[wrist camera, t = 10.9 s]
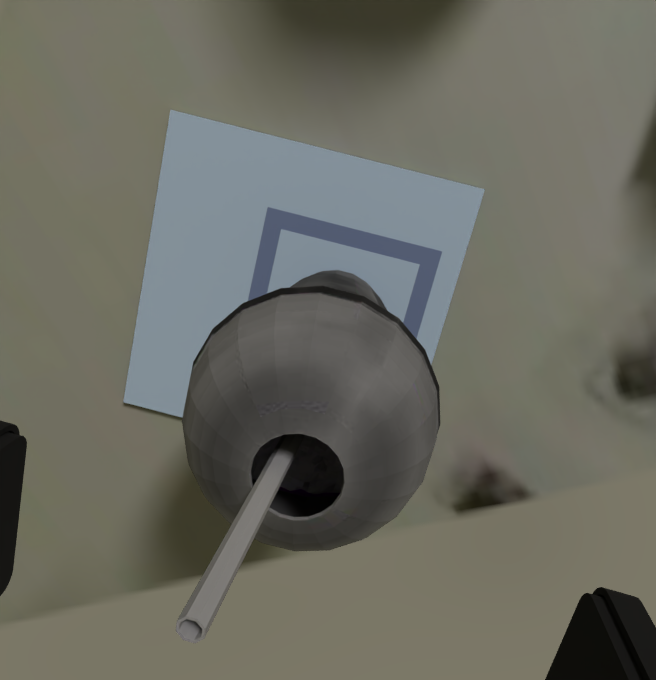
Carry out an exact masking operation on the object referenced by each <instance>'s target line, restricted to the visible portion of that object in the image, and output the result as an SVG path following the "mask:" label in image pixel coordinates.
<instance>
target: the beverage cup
mask: <svg viewBox="0 0 656 680" xmlns="http://www.w3.org/2000/svg"><path fill="white" fill-rule="evenodd" d="M182 424H183V431H184V438H185V445H186V452H187V458H188V463H189V466H190V468H191V470H192V472H193V474H194V476H195V478H196V480H197V482H198V484H199V486H200V488H201V490H202V492H203V494H204V496H205V497H206V498H207V500H208V501H209V502H210V503H211V504H212V505H213V506H214V507H215V508H216V509H217V510H218V512H219V513H220V514H221V515H222V516H223V517H224V518H225V519H226V520H227V521H228V522H229V523H230V524H231V527H230V528H229V530H228V532H227V534H226V535H225V537H224V539H223V541H222V542H221V544H220V546H219V548H218V549H217V551H216V553H215V555H214V556H213V558H212V560H211V562H210V563H209V565H208V567H207V569H206V571H205V572H204V574H203V576H202V578H201V579H200V581H199V583H198V585H197V587H196V588H195V590H194V592H193V593H192V595H191V597H190V599H189V601H188V602H187V604H186V606H185V608H184V609H183V611H182V613H181V615H180V616H179V618H178V620H177V625H176V632H177V633H178V634H179V635H180V637H181V638H182V639H183V640H185V641H189V642H193V643H196V642H198V641H200V640H202V639H204V638H205V636H206V633H207V632H208V630H209V628H210V626H211V624H212V622H213V620H214V618H215V616H216V614H217V612H218V610H219V607H220V606H221V604H222V601H223V600H224V598H225V596H226V593H227V591H228V589H229V587H230V585H231V583H232V581H233V579H234V577H235V575H236V573H237V571H238V569H239V567H240V565H241V563H242V561H243V559H244V557H245V555H246V553H247V551H248V549H249V547H250V545H251V543H252V541H253V539H256V540H258V541H260V542H261V543H265V544H269V545H273V546H277V547H280V548H284V549H288V550H292V551H319V550H331V549H334V548H338V547H341V546H344V545H347V544H350V543H353V542H356V541H359V540H362V539H364V538H366V537H368V536H369V535H371V534H372V533H374V532H375V531H377V530H378V529H380V528H381V527H382V526H384V525H385V524H387V523H388V522H390V521H391V520H392V519H394V518H395V517H396V516H397V515H398V514H399V513H400V511H401V510H402V509H403V507H404V506H405V505H406V503H407V502H408V501H409V499H410V498H411V497H412V495H413V494H414V493H415V491H416V490H417V489H418V487H419V486H420V485H421V483H422V482H423V480H424V476H425V473H426V470H427V467H428V464H429V461H430V458H431V455H432V452H433V448H434V445H435V442H436V438H437V433H438V430H439V427H440V399H439V385H438V382H437V379H436V377H435V374H434V371H433V369H432V366H431V364H430V361H429V358H428V356H427V353H426V350H425V349H424V348H423V346H422V345H421V344H420V343H419V342H418V340H417V339H416V338H415V337H414V336H413V334H412V333H411V332H410V331H409V329H408V328H407V327H406V326H405V325H404V323H403V322H402V321H401V320H400V319H399V318H398V317H396V316H395V315H393V314H392V313H390V312H388V311H387V309H386V307H385V305H384V304H383V302H382V300H381V298H380V297H379V296H378V295H377V294H376V292H375V291H374V290H373V289H372V288H371V286H370V285H369V284H368V283H367V282H365V281H364V280H362V279H361V278H359V277H357V276H356V275H354V274H352V273H348V272H344V271H340V270H330V271H321V272H318V273H315V274H313V275H310V276H308V277H305V278H303V279H301V280H300V281H298V282H297V283H295V284H294V285H292V286H291V287H289V288H280V289H277V290H275V291H272V292H270V293H267V294H265V295H262V296H260V297H257V298H255V299H252V300H249V301H247V302H244V303H242V304H241V305H240V306H239V307H238V308H237V309H235V310H234V311H233V312H232V313H231V314H229V315H228V316H227V317H226V318H225V319H224V320H222V321H221V322H220V323H219V324H218V325H216V326H215V327H214V328H213V329H212V331H211V332H210V334H209V336H208V338H207V339H206V341H205V343H204V344H203V346H202V348H201V350H200V351H199V353H198V355H197V356H196V358H195V360H194V361H193V366H192V371H191V376H190V381H189V386H188V391H187V396H186V402H185V407H184V412H183V418H182Z"/></svg>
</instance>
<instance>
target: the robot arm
mask: <svg viewBox="0 0 656 680" xmlns="http://www.w3.org/2000/svg"><path fill="white" fill-rule="evenodd" d="M26 447H27V442H26V438H25V437H24V436H20V435H19V429H18V427H17V426H16V425H14V424H11V423H7V422H3V421H0V596H1V594H2V593H3V592H4V590H5V589H6V587H7V585H8V583H9V581H10V579H11V576H12V572H13V565H14V556H15V547H16V538H17V529H18V520H19V511H20V502H21V493H22V484H23V474H24V465H25V456H26ZM545 680H656V627H655V625H654V624H653V622H652V620H651V618H650V616H649V615H648V613H647V611H646V609H645V607H644V606H643V604H642V602H641V601H640V600H639V598H637V597H634V596H631V595H627V594H624V593H620V592H617V591H613V590H609V589H605V588H602V587H600V588H597V589H596V590H595V591H594V592H593V594H589V593H586V594H584V595H583V596H582V597H581V599H580V600H579V603H578V605H577V608H576V610H575V612H574V614H573V616H572V619H571V621H570V623H569V626H568V628H567V631H566V633H565V635H564V637H563V640H562V642H561V644H560V647H559V649H558V651H557V654H556V656H555V658H554V660H553V663H552V665H551V667H550V670H549V672H548V674H547V677H546V679H545Z"/></svg>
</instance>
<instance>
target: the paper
mask: <svg viewBox="0 0 656 680" xmlns="http://www.w3.org/2000/svg"><path fill="white" fill-rule="evenodd" d="M484 191H485V189H481V188H477V187H473V186H469V185H466V184H462V183H458V182H454V181H450V180H446V179H442V178H438V177H434V176H430V175H426V174H422V173H418V172H414V171H410V170H406V169H402V168H398V167H395V166H391V165H387V164H383V163H379V162H375V161H371V160H367V159H363V158H359V157H355V156H351V155H347V154H343V153H339V152H335V151H331V150H327V149H323V148H320V147H316V146H312V145H308V144H304V143H300V142H296V141H292V140H288V139H284V138H280V137H276V136H272V135H268V134H264V133H260V132H256V131H252V130H249V129H245V128H241V127H237V126H233V125H229V124H225V123H221V122H217V121H213V120H209V119H205V118H201V117H197V116H193V115H189V114H185V113H181V112H177V111H174V110H170V116H169V122H168V129H167V135H166V141H165V147H164V153H163V160H162V166H161V172H160V178H159V184H158V191H157V197H156V203H155V209H154V215H153V222H152V228H151V234H150V240H149V246H148V253H147V259H146V265H145V271H144V277H143V284H142V290H141V296H140V302H139V308H138V315H137V321H136V327H135V333H134V339H133V346H132V352H131V358H130V364H129V370H128V377H127V383H126V389H125V395H124V403H128V404H132V405H136V406H140V407H144V408H147V409H151V410H155V411H159V412H163V413H167V414H171V415H174V416H178V417H182V418H183V412H184V407H185V402H186V396H187V391H188V386H189V381H190V376H191V371H192V366H193V361H194V360H195V358H196V356H197V355H198V353H199V351H200V350H201V348H202V346H203V344H204V343H205V341H206V339H207V338H208V336H209V334H210V332H211V331H212V329H213V328H214V327H215V326H216V325H218V324H219V323H220V322H221V321H222V320H224V319H225V318H226V317H227V316H228V315H229V314H231V313H232V312H233V311H234V310H235V309H237V308H238V307H239V306H240V305H241V304H242V303H244V302H247V301H249V300H252V299H255V298H257V297H260V296H262V295H265V294H267V293H270V292H272V291H275V290H277V289H280V288H289V287H291V286H292V285H294V284H295V283H297V282H298V281H300V280H301V279H303V278H305V277H308V276H310V275H313V274H315V273H318V272H321V271H330V270H340V271H344V272H348V273H352V274H354V275H356V276H357V277H359V278H361V279H362V280H364V281H365V282H367V283H368V284H369V285H370V286H371V288H372V289H373V290H374V291H375V292H376V294H377V295H378V296H379V297H380V298H381V300H382V302H383V304H384V305H385V307H386V309H387V311H388V312H390V313H392V314H393V315H395V316H396V317H398V318H399V319H400V320H401V321H402V322H403V323H404V325H405V326H406V327H407V328H408V329H409V331H410V332H411V333H412V334H413V336H414V337H415V338H416V339H417V340H418V342H419V343H420V344H421V345H422V346H423V348H424V349H425V350H426V353H427V356H428V358H429V361H430V364H432V361H433V357H434V354H435V351H436V348H437V344H438V341H439V338H440V334H441V331H442V328H443V325H444V321H445V318H446V315H447V312H448V308H449V305H450V302H451V299H452V295H453V292H454V289H455V285H456V282H457V279H458V276H459V272H460V269H461V266H462V263H463V259H464V256H465V253H466V249H467V246H468V243H469V240H470V236H471V233H472V230H473V227H474V223H475V220H476V217H477V214H478V210H479V207H480V204H481V200H482V197H483V194H484Z"/></svg>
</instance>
